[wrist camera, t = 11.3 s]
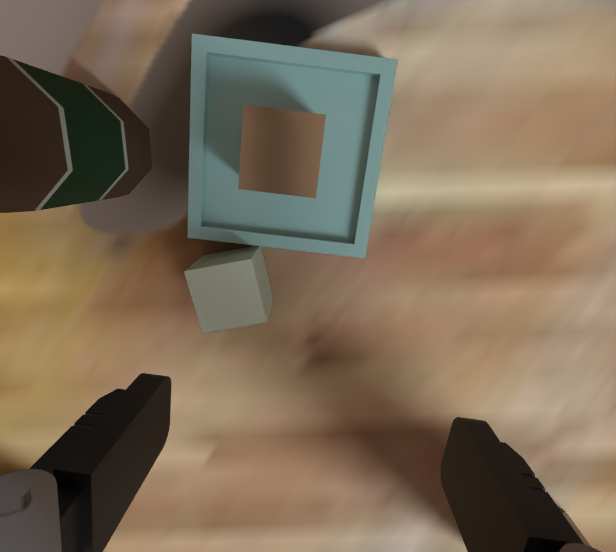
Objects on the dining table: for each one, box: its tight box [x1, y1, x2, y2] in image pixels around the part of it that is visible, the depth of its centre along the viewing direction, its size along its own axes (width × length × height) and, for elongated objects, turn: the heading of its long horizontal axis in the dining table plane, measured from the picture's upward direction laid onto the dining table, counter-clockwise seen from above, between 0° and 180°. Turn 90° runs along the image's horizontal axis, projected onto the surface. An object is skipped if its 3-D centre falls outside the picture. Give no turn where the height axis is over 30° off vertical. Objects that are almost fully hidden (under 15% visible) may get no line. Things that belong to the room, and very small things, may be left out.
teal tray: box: [187, 34, 398, 258], centre depth 28 cm, size 14×14×2 cm
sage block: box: [184, 246, 273, 334], centre depth 30 cm, size 5×5×5 cm
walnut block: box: [238, 104, 326, 198], centre depth 26 cm, size 5×5×5 cm
